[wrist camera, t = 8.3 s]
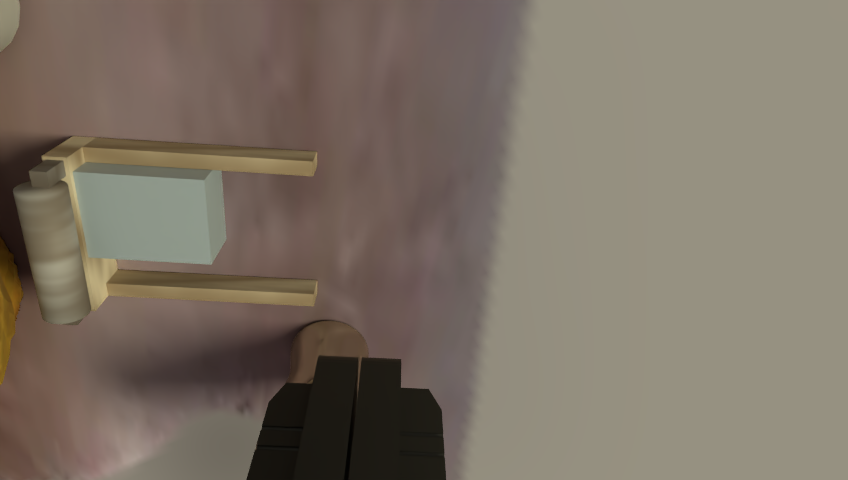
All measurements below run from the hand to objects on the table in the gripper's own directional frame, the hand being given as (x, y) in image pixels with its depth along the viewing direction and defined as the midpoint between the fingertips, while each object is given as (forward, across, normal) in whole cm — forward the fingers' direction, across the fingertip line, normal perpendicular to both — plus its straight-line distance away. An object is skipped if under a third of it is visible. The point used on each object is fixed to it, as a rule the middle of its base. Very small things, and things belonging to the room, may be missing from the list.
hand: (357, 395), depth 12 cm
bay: (+32, +13, +12) cm, 36 cm away
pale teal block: (+32, +15, +11) cm, 37 cm away
